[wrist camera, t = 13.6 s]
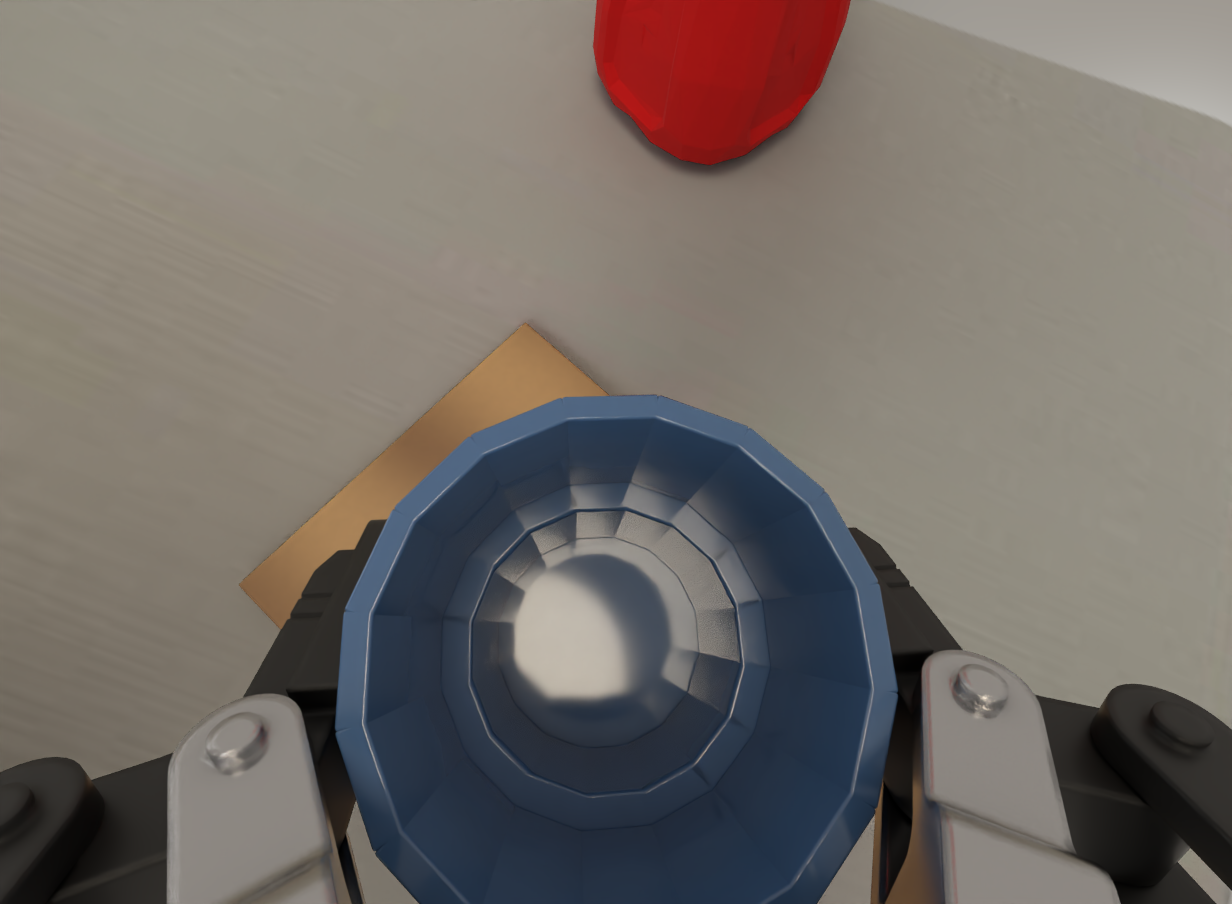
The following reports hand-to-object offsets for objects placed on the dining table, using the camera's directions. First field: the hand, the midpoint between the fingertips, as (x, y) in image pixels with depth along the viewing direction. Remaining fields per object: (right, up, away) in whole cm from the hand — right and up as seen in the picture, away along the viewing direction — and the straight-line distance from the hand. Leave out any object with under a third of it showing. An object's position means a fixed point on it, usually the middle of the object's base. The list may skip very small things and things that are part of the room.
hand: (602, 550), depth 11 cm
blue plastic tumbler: (0, -3, +4) cm, 5 cm away
